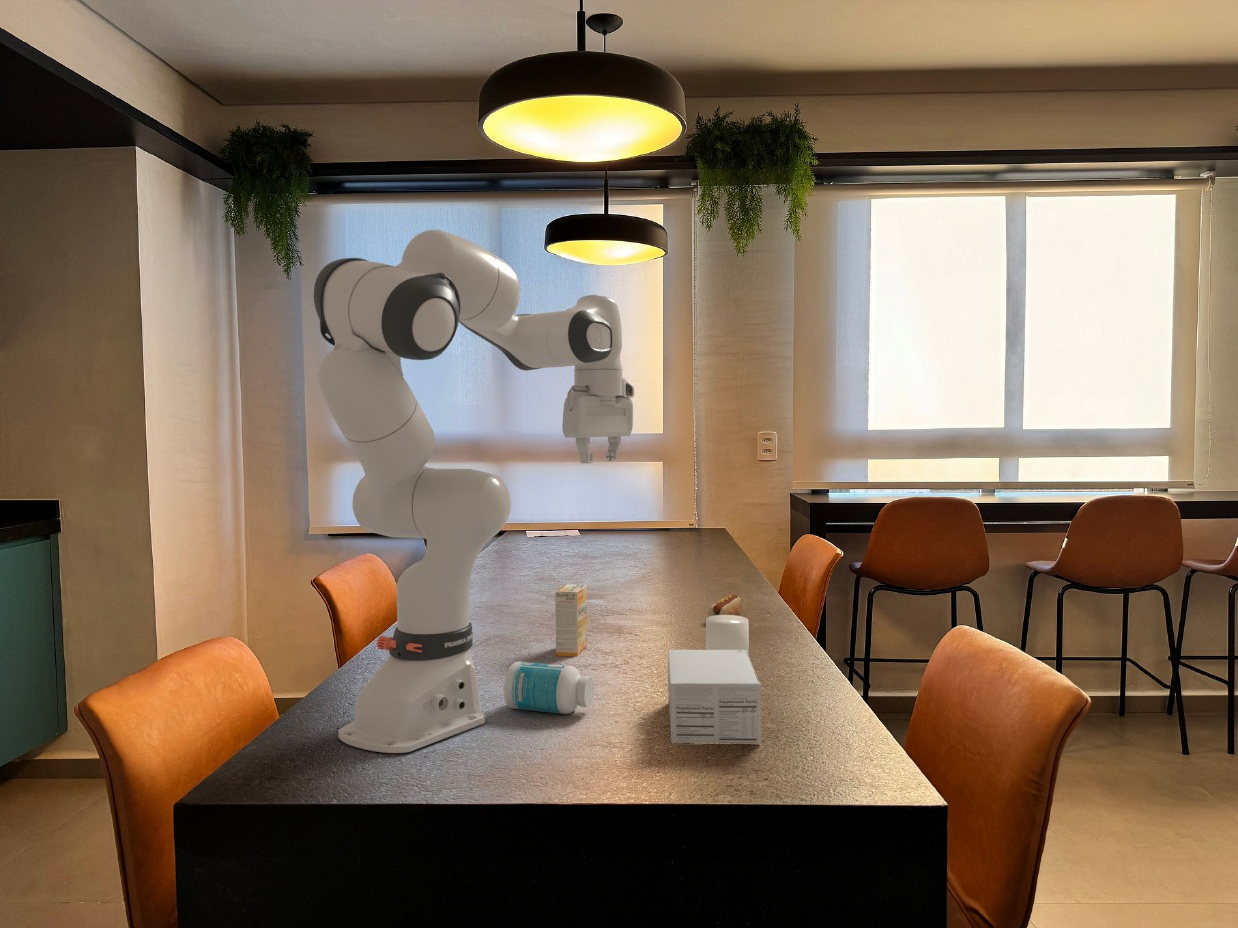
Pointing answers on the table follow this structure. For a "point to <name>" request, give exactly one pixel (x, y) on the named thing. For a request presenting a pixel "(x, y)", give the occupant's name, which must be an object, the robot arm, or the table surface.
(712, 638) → the white rounded cylinder
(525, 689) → the pill bottle
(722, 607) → the food
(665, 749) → the table surface
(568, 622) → the supplement box
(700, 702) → the supplement box
